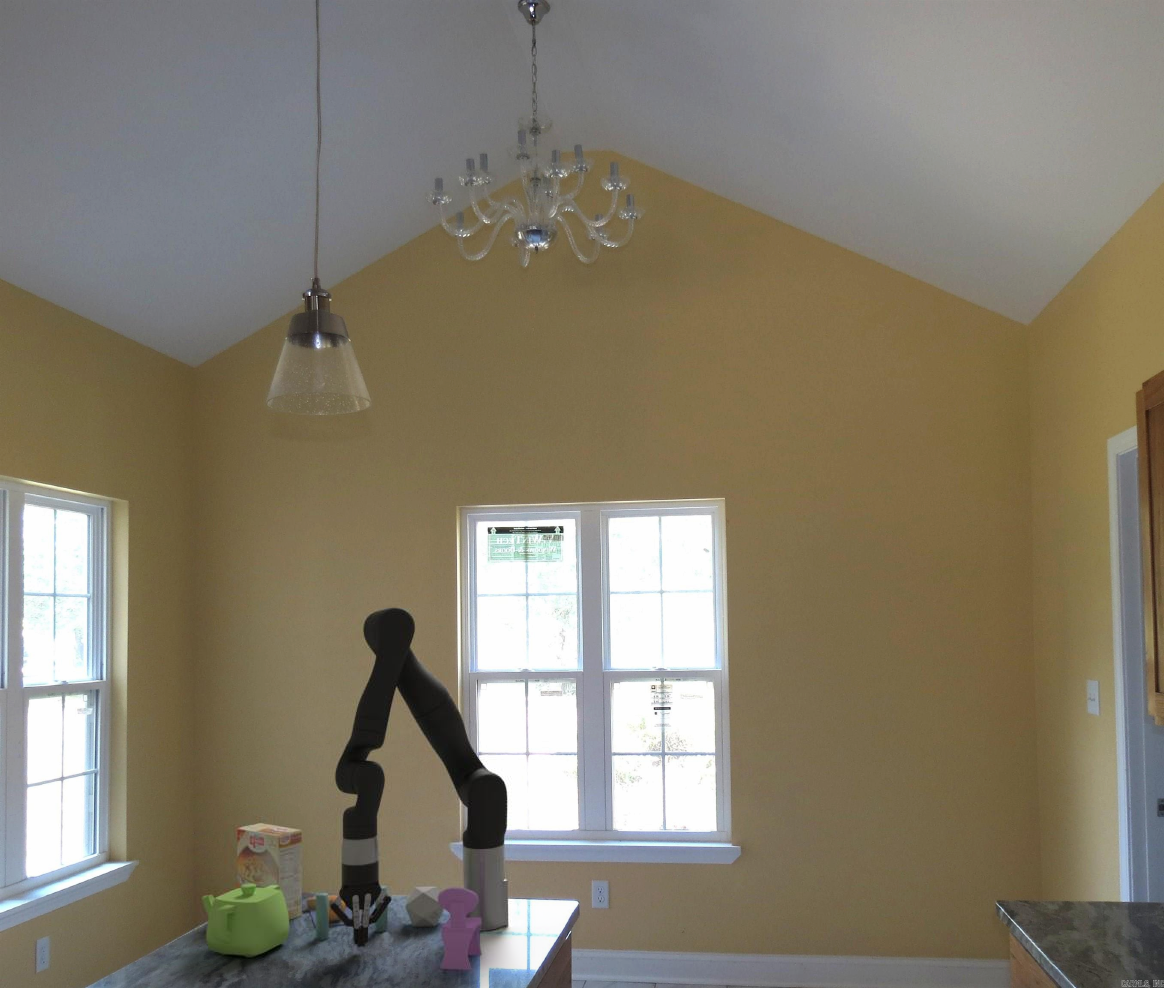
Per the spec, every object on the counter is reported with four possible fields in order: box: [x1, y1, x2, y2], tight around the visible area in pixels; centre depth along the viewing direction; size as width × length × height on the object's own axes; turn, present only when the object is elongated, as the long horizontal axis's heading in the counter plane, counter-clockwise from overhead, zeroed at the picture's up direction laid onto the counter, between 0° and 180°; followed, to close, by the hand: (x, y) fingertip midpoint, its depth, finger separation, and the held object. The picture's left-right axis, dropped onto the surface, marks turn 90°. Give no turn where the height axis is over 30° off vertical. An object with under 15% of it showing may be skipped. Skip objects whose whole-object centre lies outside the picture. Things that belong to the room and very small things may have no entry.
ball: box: [329, 896, 345, 922], centre depth 232 cm, size 6×6×6 cm
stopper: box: [306, 893, 346, 912], centre depth 244 cm, size 15×2×2 cm, turn 110°
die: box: [404, 886, 445, 928], centre depth 229 cm, size 8×9×10 cm
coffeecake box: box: [236, 822, 303, 921], centre depth 239 cm, size 15×7×20 cm, turn 55°
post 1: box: [315, 892, 330, 941], centre depth 221 cm, size 3×3×9 cm
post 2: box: [374, 885, 388, 933], centre depth 226 cm, size 3×3×9 cm
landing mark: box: [309, 905, 375, 929], centre depth 236 cm, size 14×14×1 cm
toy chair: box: [438, 886, 483, 971], centre depth 206 cm, size 8×9×15 cm
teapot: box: [201, 883, 290, 958], centre depth 217 cm, size 18×20×13 cm
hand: (360, 945), depth 211 cm, fingers closed
